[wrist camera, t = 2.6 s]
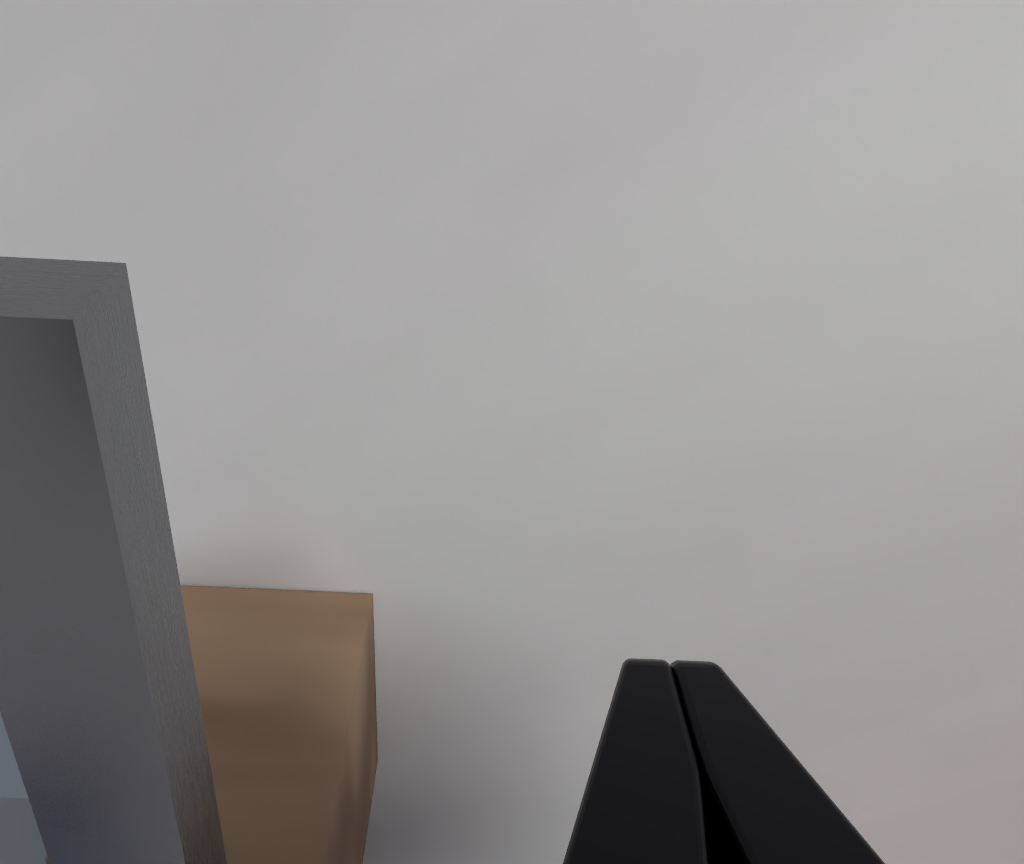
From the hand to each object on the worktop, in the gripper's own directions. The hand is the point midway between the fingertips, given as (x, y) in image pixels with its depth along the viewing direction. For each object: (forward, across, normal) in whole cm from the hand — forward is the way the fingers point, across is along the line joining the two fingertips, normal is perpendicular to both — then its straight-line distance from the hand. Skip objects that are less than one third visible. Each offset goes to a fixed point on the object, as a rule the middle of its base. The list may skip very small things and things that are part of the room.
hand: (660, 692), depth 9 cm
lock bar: (+2, +6, +3) cm, 7 cm away
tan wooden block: (+8, +6, +9) cm, 13 cm away
